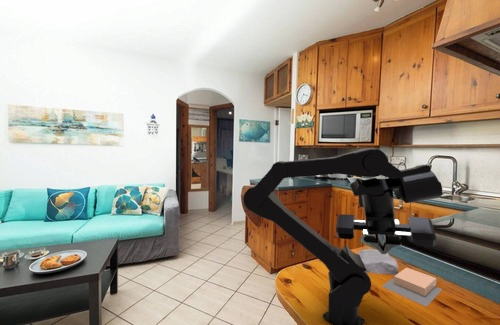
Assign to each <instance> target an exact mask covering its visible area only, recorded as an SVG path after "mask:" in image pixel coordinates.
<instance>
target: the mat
mask: <svg viewBox="0 0 500 325" xmlns="http://www.w3.org/2000/svg"><path fill="white" fill-rule="evenodd" d="M381 287H383V288H384V289H387V290H389V291H391V292H393V293H396V294H397V295H400V296H402V297H404V298H406V299H408V300H411V301H413V302H415V303H418V304H420V305H422V306H424V307H428V306H429V305H430V303H432V302H433V300H435V298H436V297H437V296H439V294H440V293H441V292H442V291H443V289H442V288H440V287H436V286H435V287H434V288H433V289H432V290H431V291H430V292H429V293H428V294H427V295H426V296H422V295H420V294H417V293H415V292H413V291H410V290H408V289H406V288H403V287H401V286H399V285H396V284H395V283H394V277H393V278H391V279H390V280H388V281H386V282H385V284H382V286H381Z"/></svg>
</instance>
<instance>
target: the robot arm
mask: <svg viewBox="0 0 500 325" xmlns="http://www.w3.org/2000/svg"><path fill="white" fill-rule="evenodd" d="M338 174H339V175H346V176H355V177H367V179H359V178H356V179H355V181H352V182H351V183H350V184H349V187H350V190H351V192H352V194H353V196H354V197H358V205H359V206H358V207H359V208H363V212H364V218H365V219H364V220H363V219H362V220H361V219H356V215H355V214H342V213H341V214H340V213H339V215H337V218H336V219H337V220H336V225H335V232H336V237H337V238H338V239H340V240H341V239H344V240H352V239H354V238H355V232H354V231H355V230H356V231H362V233H363V242H364V243H367V244H369V245H371V246H372V247H373V248H374V249H375V250H378V251H379V252H380V253H381V254H386V253H389V251H390V250H392V249H393V248H395V247H397V246H398V247H399V246H402V236H406V237H407V236H408V237H411V241H412V242H411V243H412V244H414V245H416V246H419V247H420V246H421V247H432V248H433V247H435V246H437V237H436V236H437V235H436V232H435V229H434V225H433V221H432V220H431V219H430V218H429V217H421V216H420V217H419V216H418V217H417V216H408V217H407V221H408V223H409V224H405V223H400V221H399V219H396V216H395V215H396V214H395V199H394V197H396V199H397V200H401V201H403V203H404V204H410V203H417V202H424V201H430V200H434V199H435V200H436V199H440V198H441V197H442V196H443V186H442V183H441V181H439V178H438V177H437V175H436V174H435V173H434V171H432V168H431V166H430V165H429V164H420V165H419V164H418V165H416V166H414V167H409V168H404V169H401V170H400V169H399V168H398V167H396V166H395V165H393V163H391V162H390V161H389V159H388V156H387V155H386V153H385V152H384V151H382V150H381V149H380V148H376V147H375V148H374V147H373V148H372V147H371V148H370V147H369V148H362V149H357V150H354V151H351V152H347V153H343V154H340V155H336V156H329V157H320V158H319V157H318V158H310V159H308V158H307V159H302V160H301V159H300V160H290V161H284V160H279V161H277V162H274V163H273V164H272V165H271V167H270V169H269V171H268V172H266V174H265V175H264V176H262V178H261V179H260V180H259V182H258V183H257V184H256V185H255V184H254V185H253V186H251V187H249V188H248V189H247V190H246V191H245V192H244V194H243V205H244V207H245V208H246V209H247V210H248V211H250V212H251V213H253V214H254V215H257V216H258V217H260V218H263V219H265V220H268V221H271V222H273V223H274V224H275V225H276V226H278V227H279V228H281V229H282V231H284V232H285V233H286V234H287V235H289V236H290V237H291V238H292V239H293V240H295V241H296V242H297V244H299V245H301V246H302V247H303V248H305V249H306V250H307V251H308V252H309V253H310V254H311V255H313V256H314V257H315V258H316V259H317V260H319V262H321V263H322V264H323V265H324V266H325V267H326V269H327V270H328V272H327V274H328V282H329V293H328V295H327V296H328V311H326V312H324V313H323V314H322V318H323V319H324V320H325V321H326V322H328V323H329V324H331V325H364V324H365V323H366V319H365V318H364V317H361V316H360V315H359V306H360V305H361V304H362V303H361V302H362V300H363V297H364V296H365V295H367V293H369V291H370V290H371V288H372V280H371V277H370V275H369V272H368V271H366V268H365V266H364V263H363V261H362V259H361V257H360V255H359V254H358V253H355V252H354V251H352V249H350V247H349V246H347V245H346V244H344V245H343V247H342V248H339V247H337V246H334V244H332V243H330V242H329V241H328V240H327V239H326V238H325V237H323V236H322V235H321V234H319V233H318V232H316V230H314V229H313V228H312V227H311V226H309V225H308V224H307V223H305V222H304V221H303V219H301V218H299V217H298V216H297V215H295V213H293V212H292V211H290V210H289V209H288V208H287V207H286V206H285V205H284V204H283V202H282V201H281V200H280V198H279V196H278V195H277V194H276V192H275V191H276V190H277V188H278V187H279V185H280V184H281V183H282V182H283V181H284V179H287V178H301V177H312V176H315V177H316V176H325V175H326V176H327V175H338ZM380 176H381V177H382V176H383V177H384V178H377V177H380ZM368 177H369V178H368ZM382 235H383V242H382V238H381V236H382Z"/></svg>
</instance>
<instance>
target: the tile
mask: <svg viewBox="0 0 500 325" xmlns="http://www.w3.org/2000/svg"><path fill="white" fill-rule="evenodd" d="M393 278H394V283H395V284H396V285H399V286H401V287H403V288H406V289H408V290H410V291H413V292H415V293H417V294H420V295H422V296H426V295H427V294H428V293H429V292H430V291H431V290H432V289H433V288H434V287H436V286H437V278H436V277H434V276H431V275H429V274H425V273H423V272H421V271H417V270H415V269H412V268H409V267H405V268H404V269H402V270H401V271H399V272H398V274H397V275H393Z"/></svg>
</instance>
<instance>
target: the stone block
mask: <svg viewBox="0 0 500 325" xmlns="http://www.w3.org/2000/svg"><path fill="white" fill-rule="evenodd" d="M357 254H358V255H360V257H361V259H362V261H363V263H364V266H365V268H366V271H367V273H372V274H378V275H380V274H381V275H384V274H385V275H393V276H395V275H397V274H398V273H399V265H398V262H397V260H396V259H395V258H394V257H391V256H390V255H389V252H387V253H386V254H381V253H380V252H379V251H378V250H377V249H376V248H374V249H372V248H367V249H361V250H359V251H358V253H357Z"/></svg>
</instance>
